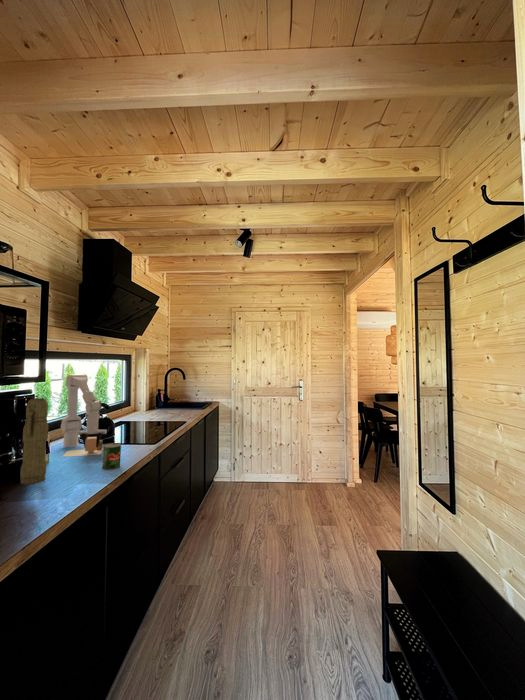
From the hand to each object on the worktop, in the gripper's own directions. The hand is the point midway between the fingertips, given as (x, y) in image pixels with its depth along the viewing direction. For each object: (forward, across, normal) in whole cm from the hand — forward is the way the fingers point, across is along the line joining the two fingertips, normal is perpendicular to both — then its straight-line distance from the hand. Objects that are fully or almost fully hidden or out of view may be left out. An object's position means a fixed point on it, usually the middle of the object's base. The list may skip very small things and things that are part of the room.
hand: (91, 447), depth 174 cm
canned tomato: (+4, +14, -27) cm, 31 cm away
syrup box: (+4, -20, -15) cm, 25 cm away
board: (+4, -4, +2) cm, 6 cm away
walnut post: (+3, +3, +6) cm, 8 cm away
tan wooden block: (+2, 0, 0) cm, 2 cm away
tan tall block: (+4, -15, -38) cm, 41 cm away
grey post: (+3, 0, 0) cm, 3 cm away
